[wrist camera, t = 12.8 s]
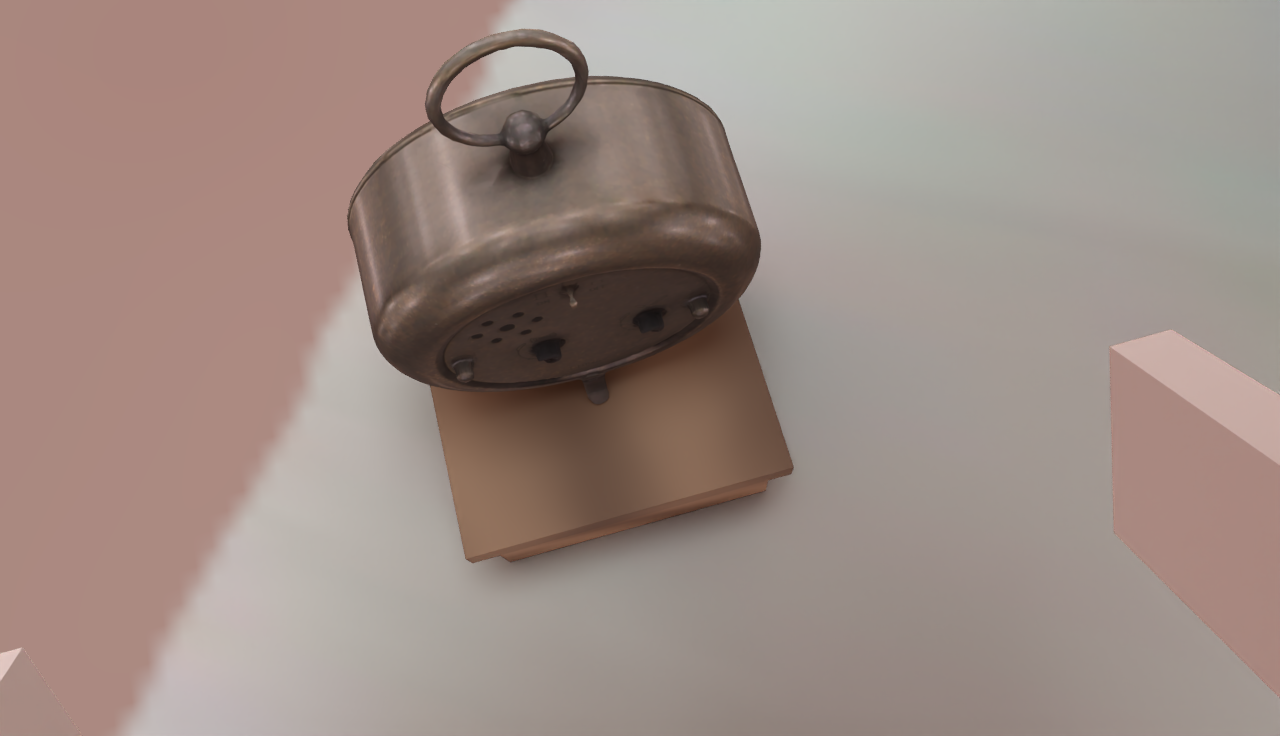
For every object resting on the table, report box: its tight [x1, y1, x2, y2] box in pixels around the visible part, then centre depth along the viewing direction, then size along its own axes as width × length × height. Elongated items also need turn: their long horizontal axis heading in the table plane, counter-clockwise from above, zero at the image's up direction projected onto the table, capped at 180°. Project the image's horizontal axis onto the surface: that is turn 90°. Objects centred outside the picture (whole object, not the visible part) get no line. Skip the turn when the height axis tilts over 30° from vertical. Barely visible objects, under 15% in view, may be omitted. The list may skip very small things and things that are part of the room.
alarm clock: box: [347, 29, 761, 404], centre depth 26 cm, size 11×5×16 cm, turn 105°
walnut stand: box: [430, 300, 794, 563], centre depth 36 cm, size 11×12×5 cm
